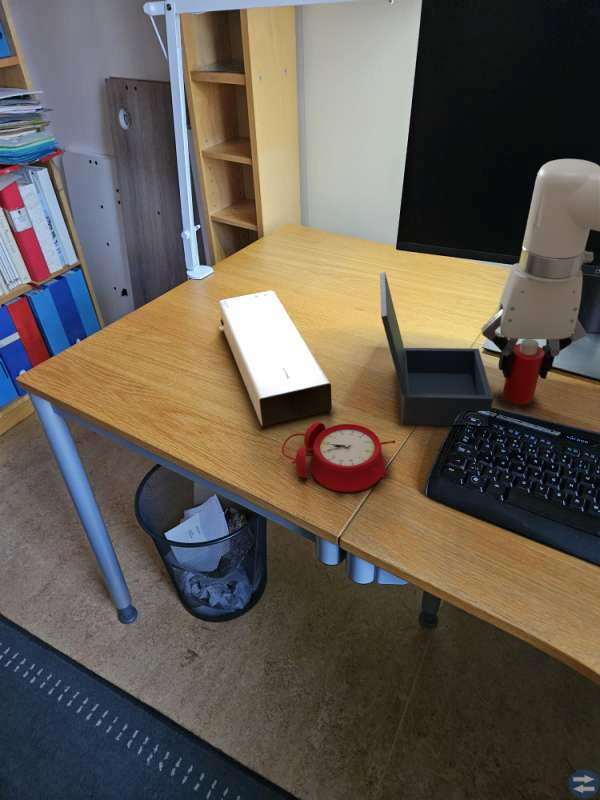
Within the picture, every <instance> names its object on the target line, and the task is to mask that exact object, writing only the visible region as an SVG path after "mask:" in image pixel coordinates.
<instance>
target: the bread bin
mask: <svg viewBox="0 0 600 800" xmlns="http://www.w3.org/2000/svg"><path fill="white" fill-rule="evenodd" d="M403 348H404V360H405V372H406V384H407V394H403V395H402V393H401V389H400V388H399V390H400V391H399V392H400V409H401V423H402V425H405V426H406V425H409V426H412V425H413V426H445V427H446V426H447V427H449V426H451V427H452V425H453V424H454V422H455V419H456V418H457V416H458V415H459V414H460V413H461V412H464V411H465V412H466V411H490V412H491V411H492V405H493V401H494V398H493V394H492V391H491V387H490V383H489V380H488V376H487V373H486V370H485V369H486V368H485V366H484V363H483V359H482V355H481V352H480V348H466V347H465V348H461V347H459V348H458V347H456V348H455V347H444V348H443V347H403Z"/></svg>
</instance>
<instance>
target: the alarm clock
mask: <svg viewBox="0 0 600 800" xmlns="http://www.w3.org/2000/svg"><path fill="white" fill-rule="evenodd" d="M296 436H297V437H298V436H303V443H304V446H300V447H298V449H297V450H296V453H295V457H293V456H289V455H287V454H286V452H285V450H284V449H285V446H286V444H287V443H288V441H289V440H290V439H292V438H294V437H296ZM395 443H396V440H395V439H392V440H389V441H380V439H379V437H378V435H377V434H376V433H375V432H373V430H371V429H370V428H368V427H365V426H364V425H360V424H356V423H355V424H354V423H340V424H334V425H332V426H329V427H327V428H326V425H325V423H324V422H321V421H316V422H313V423H312V424H310V425H309V426H308V428H307V429H306V430H305V433H302V432H301V433H294V434H291V435H290V436H288V437H287V438H286V439H285V441H284V442H283V444H282V446H281V453H282V455H283V457H286V458H287V459H290V460H292V461H291V464H295V467H296V471H297V474H298V476H299V478H302V479H307V478H308V469H307V468H308V467H307V457H310V461H309V466H310V472H311V474H312V476H313V478H314V479H315V480H316V482H318V483H319V484H320V485H322V486H323V487H325V488H327V489H330V490H333V491H336V492H341V493H342V492H343V493H352V492H353V493H354V492H355V493H356V492H360V491H364V490H366V489H369V488H370V487H373V486H374V485H375V484H377V483H378V482H379V481H380V480H381V479H385V478H386V475H387V474H388V473H387V472H388V469H387V468H386V461H385V457H384V455H383V453H382V446H383V445H388V444H395ZM306 451H312V452H313V453H310V454H309V453H308V454H306Z"/></svg>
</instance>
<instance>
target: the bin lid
mask: <svg viewBox="0 0 600 800" xmlns="http://www.w3.org/2000/svg"><path fill="white" fill-rule="evenodd" d="M379 278H380V279H379V282H380V310H381V311H380V317H381V320H382V321H381V322H382V325H383V329H384V332H385V336H386V340H387V343H388V348H389V351H390V355H391V359H392V363H393V366H394V371H395V374H396V378H397V381H398V385H399V390H400V389H401V393H402V395H403V394H407V384H406V372H405V360H404V348H405V347H404V342H403V338H402V335H401V331H400V327H399V321H398V319H397V314H396V309H395V306H394V302H393V298H392V294H391V291H390V290H391V289H390V286H389V282H388V278H387V274H386V272H380V273H379Z"/></svg>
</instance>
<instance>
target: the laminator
mask: <svg viewBox="0 0 600 800" xmlns="http://www.w3.org/2000/svg"><path fill="white" fill-rule="evenodd" d="M218 307H219V316H220V324H221V325H220V326H218V329H219V331H223V333H224V335H225V338H226V340H227V343H228V345H229V349H230V351H231V353H232V354H233V358H234V361H235V363H236V365H237V368H238V370H239V374H240V376H241V379H242V381H243V383H244V386H245V389H246V391H247V395H248V396H249V399H250V401H251V403H252V407H253V409H254V411H255V414H256V416H257V419H258V422H259V424H260V426H261V428H264V427H266V426H270V425H273V424H279V423H282V422H287V421H291V420H294V419H299V418H303V417H308V416H313V415H317V414H321V413H325V412H331V411H332V408H333V407H332V406H333V405H332V384H331V382H330V380H329V379H328V377H327V375H326V374H325V372H324V371H323V369H322V368H321V366H320V364H319V362H317V359H316V357H315V356H314V354H313V352H312V351H311V350H310V348H309V346H308V344H307V343H306V341H305V340H304V338H303V336H302V335H301V333H300V331H299V330H298V328H297V327H296V325H295V324H294V321H293V320H292V319H291V317H290V315H289V313H288V312H287V310H286V308H285V307H284V306H283V304H282V302H281V300H280V299H279V297H278V296H277V294H276V292H275V291H274V290H273V289H271V290H266V291H259V292H255V293H249V294H244V295H239V296H233V297H228V298H222V299H218Z"/></svg>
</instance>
